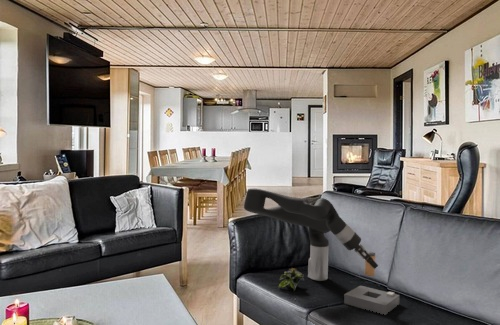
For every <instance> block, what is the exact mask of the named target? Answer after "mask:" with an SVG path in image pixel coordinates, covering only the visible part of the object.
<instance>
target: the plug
mask: <svg viewBox="0 0 500 325" xmlns="http://www.w3.org/2000/svg"><path fill="white" fill-rule="evenodd" d="M367 252H368V253H369V255H370V256H371V257H372V259H373V260H374V261H375V262H376V252H374V251H367ZM369 258H370V257H369ZM369 258H367V260H368V259H369ZM364 261H365V262H364V263H365V264H364V276H367V277H374V276H375V275H376V274H375V272H376V268H375V269H374V268H373V267H372V266H371V265H370V264H369V263H368V262H367V261H366V260H365V259H364Z"/></svg>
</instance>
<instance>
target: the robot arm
mask: <svg viewBox="0 0 500 325" xmlns="http://www.w3.org/2000/svg"><path fill="white" fill-rule="evenodd" d="M266 199H269V200H271V201H274V203H276V204H277V205H275V206H273V207H269V208H265V204H266ZM243 208H244V210H245V211H246V212H248V213H252V214H255V215H260V216H265V217H269V218H272V219H276V220H279V221H282V222H284V223H287V224H291V225H295V226H302V227H306V228H307V227H308V236H309V237H308V238H309V242H310V253H309V258H308V260H307V261H308V265H307V278H309V279H311V280H314V281H319V282H321V281H327V280H328V275H329V274H328V272H329V239H328V238H327V237H326V235H325V234H326V233H327V234H328V233H330V232H331V233H332V235H334V236H335V237H336V239H337V240H338V241H339V243H341V244H342V246H344V248H345V249H346V250H348V251H352V250H353V251H354V252H355V253H356V254H357V255H358V256H360V257H361V258H362V259H363V260H364V261H365V260H366V261H367V262H368V263H369V264H370V265H371V266H372V267H373V268H374V269H375V270H376V268H377V267H379V264H378V263H377V262H376V260H375V261H374V260H373V259H372V257H371V256H370V255H369V253H368V252H369V251H367V250H366V249H365V247H364V246H363V245H362V244H360V243H361V242H362V239H361V237H360V235H359V234H357V232H356V231H354V229H353V228H352V227H351V226H350V225H349V224H347V222H345V221H344V220H343V218H341V217H340V215H339V213H338V212H337V210H336V208H335V207H334V204H332V202H330V200H328V199H326V198H324V197H323V198H322V197H321V198H318V199H317V200H316V201H315V203H314V204H310V201H309V199H306V198H303V197H302V198H301V197H296V196H288V195H285V194H281V193H277V192H273V191H268V190H264V189H261V188H255V187H252V188H248V189H247V190H246V195H245V200H244V204H243ZM369 257H370V258H369ZM367 258H369V259H368V260H367Z"/></svg>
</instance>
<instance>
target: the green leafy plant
mask: <svg viewBox="0 0 500 325" xmlns="http://www.w3.org/2000/svg"><path fill="white" fill-rule="evenodd" d="M281 280H282V281H281ZM279 281H281V282H280V283H279V285H278V288H279V289H282V288H285V287H287V286H289V285H290V287H291V288H292V289H293V292H295V291H296V288H297V286H298V285H299V283H300V282H301V281H303V282H304V281H305V274H304V273H302V272H300V271H299V270H297V268H293V267H291V268H288V270H287V271H284V274H281V276H280V277H279Z"/></svg>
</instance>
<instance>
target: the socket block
mask: <svg viewBox="0 0 500 325" xmlns="http://www.w3.org/2000/svg"><path fill="white" fill-rule="evenodd" d="M343 297H344V301H343V304H344V305H349V306H352V307H355V308H358V309H361V310H365V309H366V310H365V311H369V310H370V311H369V312H372V311H373V312H372V313H376V312H377V313H376V314H379V313H380V315H383V314H384V315H383V316H386V315H387V314H389V313H390V312H391V311H392V310H393V309H395V308H396V307H397V305H398V306H399V305H400V294H397V293H395V292H393V291H385V290H382V289H381V290H380V289H376V288H372V287H368V286H364V285H359V286H357V287H355V288H353V289H351V290H349V291H347V292H346V293H344V294H343ZM388 312H389V313H388Z"/></svg>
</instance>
